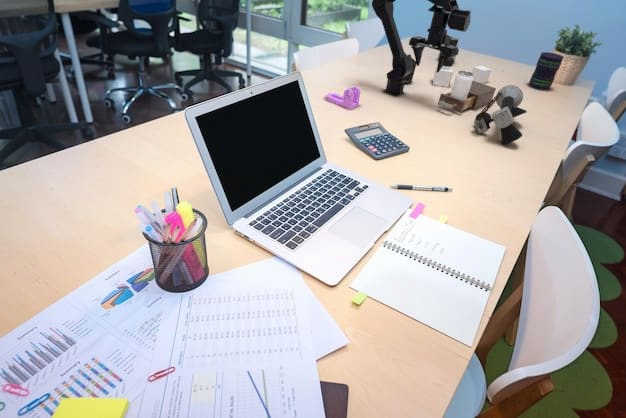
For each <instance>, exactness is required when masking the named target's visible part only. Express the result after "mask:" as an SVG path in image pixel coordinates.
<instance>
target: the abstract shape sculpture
mask: <svg viewBox="0 0 626 418" xmlns="http://www.w3.org/2000/svg"><path fill="white" fill-rule="evenodd" d="M523 100H524V92H523V91H522V89H521V88H520V87H519V86H517V85H513V84H509V85H504V86H503V87H501V88H499V90H498V91H497V93H496V95H494V96H493V98H492V100H491V102H490V103H488V104H486V105H485V107H484V108H483V109H482V110H481V111H480V112H479V113H477V114H476V116H475V119H474V121H473V124H474V126H475V128H476V130H477V132H478V135H480V134H482V133H485V132H487V131H489V130H490V129H491V126H490V125H491V123H492V122H494V123H495V126H496V128H497V129H498V130H500V137H501V144H502V145H508V144H510V143H514V142H516V141H517V140H519V139H521V138H522V137H523V133H522V132H521V131H520V130H519V129H518V128H517V126H515V124H514V121H515V120H514V119H515V118H516V117H519V116H522V115H523V114H526V113H527V110H526V109H523V108H521V107H519V106H520V105H521V103H522V102H523ZM495 103H496V105H497V106H498V107H499V109H497V110H495V111H493V113H492V116H491V114H490V113H488V110H489V109H490V108H492V106H493V105H494V104H495Z"/></svg>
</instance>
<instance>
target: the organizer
mask: <svg viewBox="0 0 626 418" xmlns="http://www.w3.org/2000/svg"><path fill="white" fill-rule="evenodd" d="M496 90H497V88H496V87H494V86H490V85H488V84H485V83H478V82H475V81H472V84H471V87H470V90H469V93H468V94H470V95H473V96H476V100H475V102H474V105H473V106H471V107H469V108H468V109H470V110H473V111H475V110H477V109H479V108H482V107H484V106H487V105H488V104H489V103H490V102H491V100H492V99H494V96H495V93H496Z"/></svg>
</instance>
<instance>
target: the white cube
mask: <svg viewBox="0 0 626 418" xmlns="http://www.w3.org/2000/svg"><path fill="white" fill-rule="evenodd" d="M471 73H473V80H472V81H475V82H478V83H481V84H485V83H488V82H489V78H490V75H491V73H492V69H491V68H489V67H485V66H483V65H477V66H476V65H475V66H472V69H471Z"/></svg>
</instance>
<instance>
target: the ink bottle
mask: <svg viewBox="0 0 626 418" xmlns="http://www.w3.org/2000/svg"><path fill="white" fill-rule="evenodd" d="M450 37H451V40H450V42H449V45H452V46H456V47H458V43H459V40H460V39H459V38H458V37H455V36H450ZM443 46H446V45H443ZM440 55H442V53H441V51H439V54H438V56H437V61H439V56H440ZM456 57H457V55H456V56H453V57H452V58H453V59H454V62H453V64H454V63H455V60H456Z"/></svg>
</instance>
